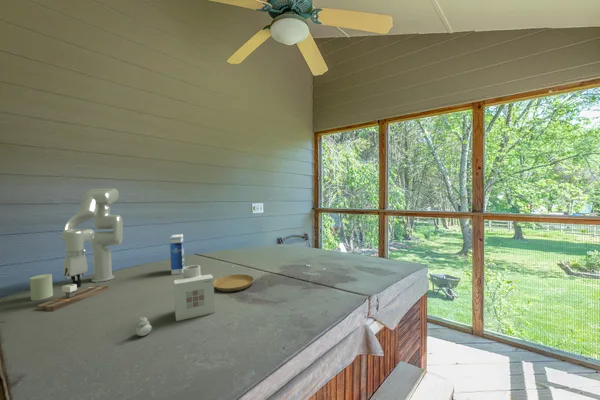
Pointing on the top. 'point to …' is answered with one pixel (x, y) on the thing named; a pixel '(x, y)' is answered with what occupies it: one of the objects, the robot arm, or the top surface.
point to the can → (41, 287)
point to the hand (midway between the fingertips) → (77, 287)
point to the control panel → (193, 294)
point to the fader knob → (69, 289)
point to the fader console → (71, 298)
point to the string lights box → (177, 254)
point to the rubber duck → (143, 327)
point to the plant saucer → (233, 282)
